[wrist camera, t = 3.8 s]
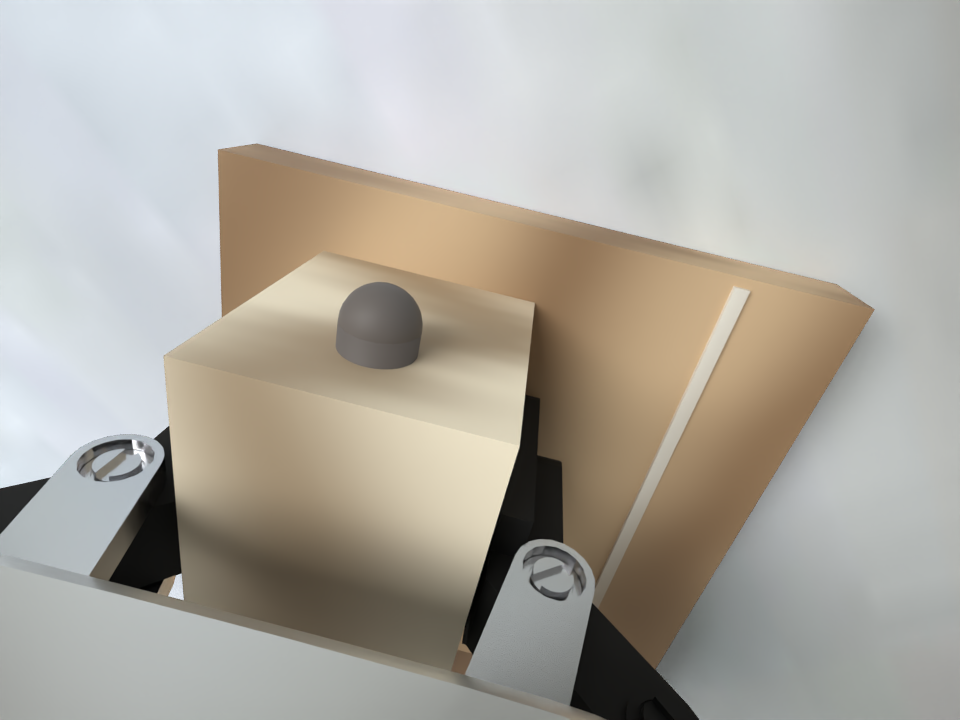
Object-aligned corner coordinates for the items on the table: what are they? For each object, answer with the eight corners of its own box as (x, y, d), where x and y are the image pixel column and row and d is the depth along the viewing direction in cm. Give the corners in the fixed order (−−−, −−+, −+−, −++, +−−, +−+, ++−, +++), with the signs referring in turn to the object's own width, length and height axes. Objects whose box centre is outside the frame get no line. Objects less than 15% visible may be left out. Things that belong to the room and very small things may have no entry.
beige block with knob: (547, 256, 10) (541, 375, 6) (461, 567, 14) (419, 775, 10) (327, 202, 10) (157, 279, 6) (303, 527, 15) (193, 715, 10)
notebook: (836, 284, 11) (877, 311, 10) (571, 759, 21) (572, 808, 19) (257, 143, 12) (214, 150, 10) (252, 675, 21) (230, 717, 19)
